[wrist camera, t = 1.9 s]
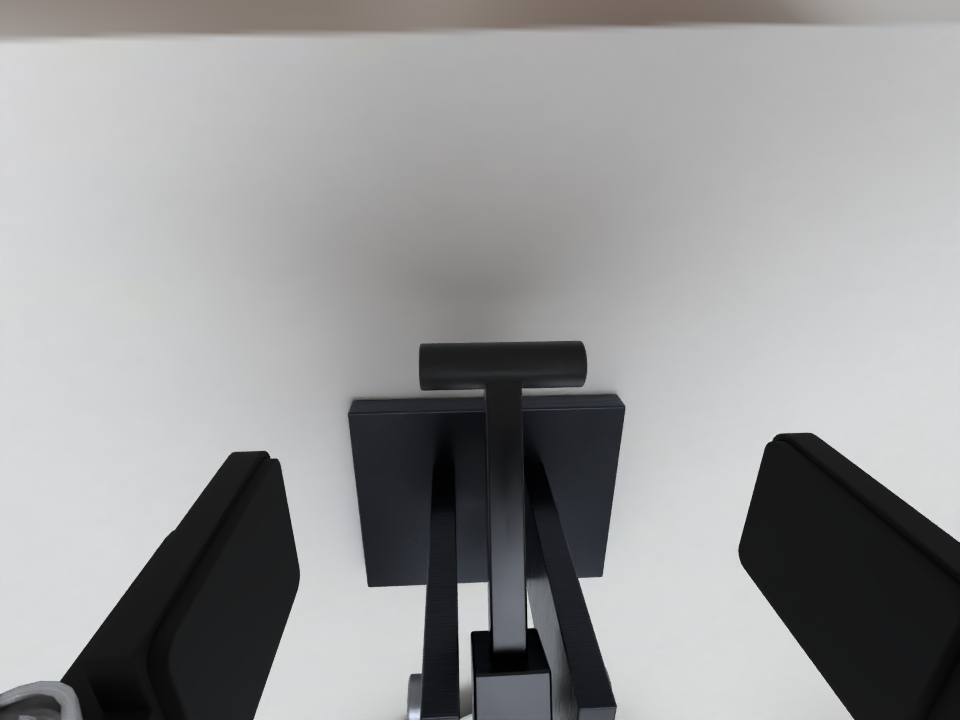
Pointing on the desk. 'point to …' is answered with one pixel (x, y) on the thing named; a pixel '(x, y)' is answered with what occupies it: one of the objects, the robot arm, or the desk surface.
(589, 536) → the bracket
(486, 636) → the lever
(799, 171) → the desk surface
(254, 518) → the robot arm
